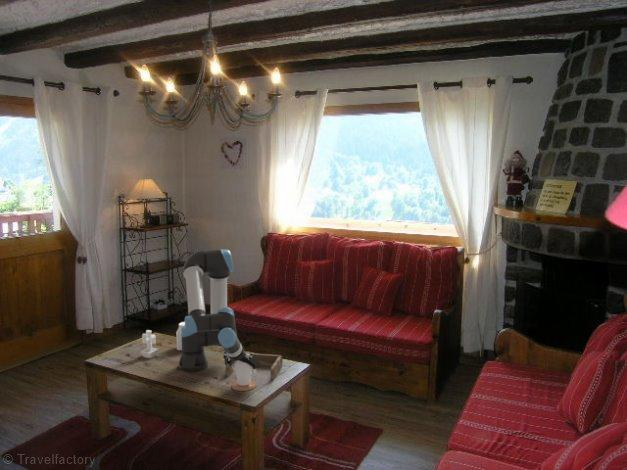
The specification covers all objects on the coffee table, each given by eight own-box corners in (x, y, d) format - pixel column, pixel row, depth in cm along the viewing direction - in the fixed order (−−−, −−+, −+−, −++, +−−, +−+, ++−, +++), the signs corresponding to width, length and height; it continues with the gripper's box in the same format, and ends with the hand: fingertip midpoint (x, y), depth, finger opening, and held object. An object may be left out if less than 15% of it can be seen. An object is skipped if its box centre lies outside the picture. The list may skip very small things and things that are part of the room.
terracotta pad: (236, 379, 253) (236, 378, 253) (259, 381, 251) (259, 380, 250) (228, 389, 241) (228, 388, 241) (252, 391, 239) (252, 390, 239)
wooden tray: (237, 362, 274) (237, 352, 273) (282, 366, 270) (282, 355, 269) (226, 376, 257) (225, 364, 256) (273, 379, 252) (273, 368, 252)
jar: (173, 349, 295) (172, 324, 293) (184, 344, 303) (184, 319, 301) (189, 352, 290) (188, 327, 288) (200, 347, 298) (199, 322, 296)
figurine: (160, 354, 286) (159, 328, 284) (149, 360, 278) (148, 333, 276) (150, 352, 289) (148, 327, 287) (138, 358, 280) (137, 332, 278)
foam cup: (243, 377, 252) (243, 352, 250) (257, 381, 247) (257, 356, 245) (230, 383, 244) (229, 358, 243) (244, 388, 239) (243, 362, 237)
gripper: (209, 356, 230) (222, 375, 248) (256, 359, 226) (266, 378, 244) (213, 341, 235) (226, 361, 252) (259, 344, 231) (268, 364, 248)
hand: (245, 369), depth 248 cm, fingers closed on foam cup, 9 cm apart
